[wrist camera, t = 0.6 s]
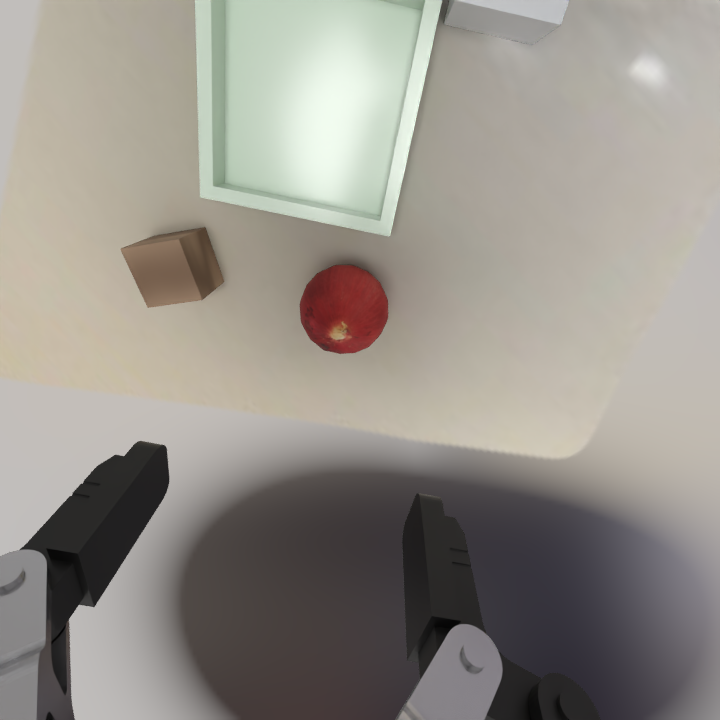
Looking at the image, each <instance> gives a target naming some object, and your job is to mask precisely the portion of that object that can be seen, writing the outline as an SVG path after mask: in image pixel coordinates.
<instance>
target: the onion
mask: <svg viewBox="0 0 720 720" xmlns="http://www.w3.org/2000/svg"><path fill="white" fill-rule="evenodd" d="M300 316H301V323H302V325H303V327H304V329H305V331H306V332H307V334H308V336H309V338H310V339H311V340H312V341H313V342H314V343H316V344H317V345H318V346H319V347H321V348H322V349H323V350H325V351H330V352H335V353H339V354H343V353H356V352H358V351H360V350H363V349H365V348H367V347H369V346H370V345H371V344H372V343H373V342H374V341H375V340H376V339H377V338H378V337H379V335H380V334H381V332H382V330H383V328H384V326H385V324H386V322H387V319H388V300H387V297H386V295H385V292H384V290H383V288H382V286H381V284H380V282H379V281H378V280H377V279H375V278H374V277H373V276H372V275H371V274H370V273H369V272H368V271H365V270H363V269H360V268H358V267H356V266H353V265H335V266H332V267H330V268H328V269H326V270H323V271H321V272H319V273H317V274H316V275H315V277H314V278H313V279H312V280H311V281H310V282H309V283H308V284H307V286H306V288H305V291H304V293H303V296H302V298H301V301H300Z"/></svg>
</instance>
